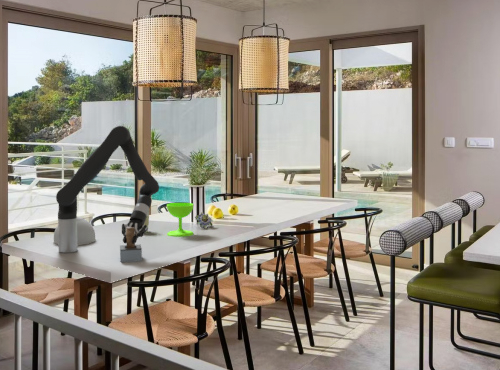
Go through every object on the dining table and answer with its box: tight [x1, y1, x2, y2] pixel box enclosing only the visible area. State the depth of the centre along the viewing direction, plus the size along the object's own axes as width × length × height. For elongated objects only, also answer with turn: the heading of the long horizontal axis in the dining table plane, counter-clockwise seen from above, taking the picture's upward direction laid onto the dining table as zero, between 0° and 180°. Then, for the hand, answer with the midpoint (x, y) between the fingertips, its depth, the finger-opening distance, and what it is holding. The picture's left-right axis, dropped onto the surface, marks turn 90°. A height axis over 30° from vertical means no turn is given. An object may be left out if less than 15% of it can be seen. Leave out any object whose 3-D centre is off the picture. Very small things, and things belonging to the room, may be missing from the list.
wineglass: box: [166, 202, 195, 238], centre depth 339 cm, size 16×16×18 cm
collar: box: [119, 244, 143, 263], centre depth 276 cm, size 10×10×6 cm
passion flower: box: [194, 211, 214, 230], centre depth 362 cm, size 11×11×12 cm
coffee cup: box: [140, 211, 150, 234], centre depth 347 cm, size 9×9×15 cm
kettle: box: [53, 216, 97, 246], centre depth 320 cm, size 25×23×23 cm
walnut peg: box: [125, 227, 136, 248], centre depth 276 cm, size 4×4×14 cm
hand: (128, 242), depth 274 cm, fingers closed on walnut peg, 4 cm apart
